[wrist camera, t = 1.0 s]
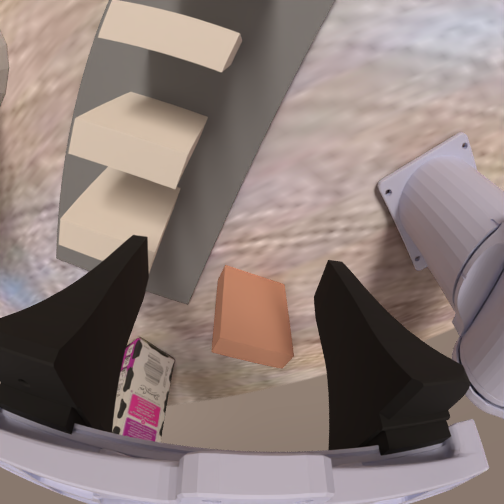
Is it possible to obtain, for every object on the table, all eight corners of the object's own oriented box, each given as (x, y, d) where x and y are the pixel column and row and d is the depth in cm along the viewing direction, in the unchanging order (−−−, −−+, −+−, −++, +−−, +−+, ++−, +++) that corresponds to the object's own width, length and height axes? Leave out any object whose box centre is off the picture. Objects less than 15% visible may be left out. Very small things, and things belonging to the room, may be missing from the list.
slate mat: (166, -100, 9) (165, -103, 8) (355, -40, 12) (358, -41, 11) (58, 255, 23) (56, 258, 23) (188, 301, 26) (187, 304, 26)
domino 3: (110, 164, 19) (60, 218, 13) (180, 188, 20) (155, 252, 14) (105, 185, 20) (58, 244, 14) (173, 208, 21) (147, 276, 15)
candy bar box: (137, 333, 29) (101, 495, 16) (176, 357, 31) (157, 511, 18) (90, 367, 33) (57, 490, 20) (123, 386, 36) (100, 505, 22)
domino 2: (130, 91, 16) (75, 118, 10) (208, 116, 17) (187, 154, 12) (123, 115, 17) (68, 153, 11) (198, 140, 18) (175, 189, 13)
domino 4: (225, 265, 24) (220, 337, 19) (284, 284, 25) (293, 355, 20) (218, 279, 25) (211, 352, 19) (275, 297, 26) (282, 368, 21)
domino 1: (159, 14, 13) (112, -1, 8) (242, 40, 15) (239, 33, 9) (149, 39, 14) (97, 37, 9) (231, 64, 16) (221, 72, 10)
